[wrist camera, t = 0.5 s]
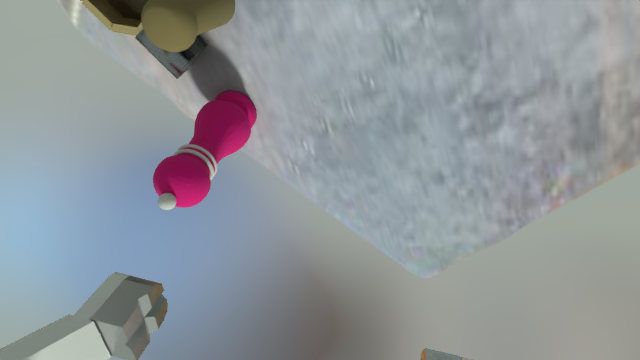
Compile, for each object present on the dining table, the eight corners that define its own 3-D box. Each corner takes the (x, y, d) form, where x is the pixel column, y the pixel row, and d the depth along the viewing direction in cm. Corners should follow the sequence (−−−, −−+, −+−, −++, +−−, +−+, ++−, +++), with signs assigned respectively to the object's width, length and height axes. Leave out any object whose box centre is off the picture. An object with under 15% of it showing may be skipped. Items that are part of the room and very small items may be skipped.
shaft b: (210, 48, 46) (188, 66, 41) (193, 65, 48) (170, 85, 44) (173, 8, 43) (145, 23, 39) (156, 28, 46) (129, 45, 41)
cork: (177, -1, 43) (121, 30, 35) (200, -44, 39) (143, -21, 31) (219, 36, 45) (175, 73, 36) (244, -2, 41) (202, 30, 33)
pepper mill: (210, 121, 54) (132, 217, 39) (213, 79, 49) (125, 170, 34) (256, 137, 54) (195, 239, 39) (264, 97, 49) (197, 195, 34)
